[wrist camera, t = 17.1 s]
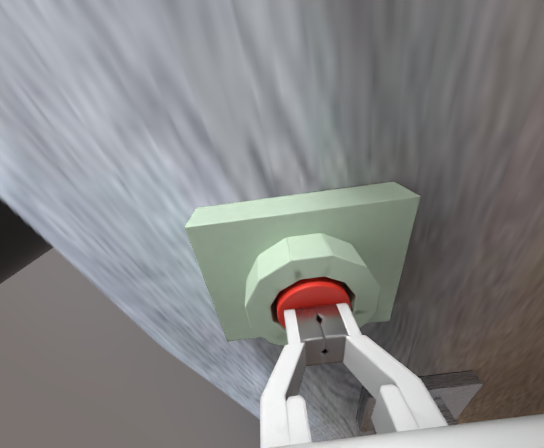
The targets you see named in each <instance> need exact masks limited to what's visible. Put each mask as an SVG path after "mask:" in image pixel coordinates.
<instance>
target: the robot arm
mask: <svg viewBox="0 0 544 448" xmlns="http://www.w3.org/2000/svg"><path fill="white" fill-rule="evenodd" d="M284 316H285V325H286V334H287V342H288V344H286V345H285V346H284V348H283V350H282V352H281V354H280V357H279V359H278V361H277V363H276V365H275V368H274V370H273V372H272V374H271V376H270V378H269V381H268V383H267V385H266V387H265V389H264V392H263V394H262V396H261V398H260V427H261V428H260V436H261V437H260V443H261V444H260V447H261V448H544V414H538V415H530V416H522V417H514V418H506V419H498V420H489V421H481V422H473V423H465V424H457V425H448V423H447V422H446V420H445V418H444V417H443V415H442V413H441V412H440V410H439V408H438V407H437V405H436V403H435V402H434V400H433V398H432V397H431V395H430V393H429V392H428V390H427V388H426V387H425V385H424V383H423V382H422V380H421V379H420V378H419V377H417V376H416V375H415V374H414V373H412V372H411V371H410V370H409V369H407V368H406V367H405V366H404V365H402V364H401V363H400V362H399V361H397V360H396V359H395V358H394V357H392V356H391V355H390V354H389V353H387V352H386V351H385V350H384V349H382V348H381V347H380V346H379V345H377V344H376V343H375V342H374V341H372V340H371V339H370V338H369V337H368V336H366V335H362V334H361V331H360V329H359V327H358V325H357V323H356V321H355V319H354V316H353V314H352V312H351V310H350V308H349V306H348V304H347V303H340V304H330V305H323V306H315V307H310V308H299V309H290V310H284ZM335 362H343V363H344V364H345V365H346V367H347V368H348V369H349V370H350V371H351V372H352V373H353V375H354V376H355V377H356V378H357V379H358V380H359V381H360V382H361V384H362V385H363V386H364V387H365V388H366V389H367V390H368V391H369V393H370V394H371V395H372V396H373V397H374V398H375V399H376V404H375V407H374V410H373V413H372V416H371V419H372V422H373V425H374V428H375V430H376V433H377V434H375V435H367V436H359V437H350V438H342V439H334V440H326V441H318V442H312V439H311V433H310V427H309V422H308V416H307V410H306V404H305V399H304V398H303V397H302V396H301V395H298V392H299V389H300V385H301V382H302V379H303V376H304V372H305V369H306V366H311V365H318V364H324V363H335Z"/></svg>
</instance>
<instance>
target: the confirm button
mask: <svg viewBox="0 0 544 448" xmlns="http://www.w3.org/2000/svg"><path fill="white" fill-rule="evenodd" d="M275 299H276V309H277V318H278V320H279V322H280V324H281V325H282V326H283V327H284V328H285V329H286V325H285V316H284V310H290V309H299V308H310V307H315V306H323V305H330V304H340V303H347V304H348V306H349V308H351V303H350V299H349V297H348V295H347V293H346V291H345V288H344V286H343V284H342V282H341V281H338V280H335V279H331V278H328V277H325V276H324V277H317V278H309V279H301V280H299V281H297V282H295V283H294V284H292V285H290V286H288V287H287V288H285V289H283V290H281V291H280V292H279V293H278V295H277V296H276V298H275Z"/></svg>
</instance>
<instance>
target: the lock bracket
mask: <svg viewBox="0 0 544 448" xmlns="http://www.w3.org/2000/svg"><path fill="white" fill-rule="evenodd" d="M419 378H420V379H421V380H422V382H423V383H424V385H425V387H426V388H427V390H428V392H429V393H430V395H431V397H432V398H433V400H434V402H435V403H436V405H437V407H438V408H439V410H440V412H441V413H442V415H443V417H444V418H445V420H446V422H447V423H448V425H457V424H458V423H457V422H456V420H455V419H456V418H457V417H458V416H459V415H460V413H461V412H462V411H463V409H464V408H465V407H466V406H467V404H468V403H469V402H470V400H471V399H472V398H473V397H474V395H475V394H476V393H477V391H478V390H479V389H480V387H481V386H482V385H483V383H482V382H481V380H480V379H479V378H478V377H477V376H476V374H475V373H474V372H473V371H464V372H456V373H448V374H440V375H432V376H425V377H419ZM375 404H376V399H375V398H374V397H373V396H372V395H371V394H370V393H369V391H368V390H367V389H366V388H365V387H364V386H362V392H361V397H360V402H359V407H358V412H357V417H356V419H357V422H358V425H359V429H360V431H367V430H375V428H374V425H373V422H372V419H371V416H372V413H373V410H374V407H375Z"/></svg>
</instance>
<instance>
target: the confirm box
mask: <svg viewBox="0 0 544 448" xmlns="http://www.w3.org/2000/svg"><path fill="white" fill-rule="evenodd" d="M419 200H420V196H419V195H417V194H415V193H414V192H412V191H410V190H408V189H406V188H404V187H403V186H401V185H399V184H397V183H395V182H388V183H380V184H373V185H365V186H358V187H350V188H343V189H335V190H327V191H320V192H312V193H305V194H297V195H290V196H282V197H275V198H267V199H260V200H252V201H244V202H237V203H229V204H222V205H214V206H207V207H199V208H196V210H195V211H194V213H193V215H192V216H191V218H190V220H189V221H188V223H187V224H186V226H185V230H186V232H187V235H188V238H189V240H190V243H191V246H192V248H193V251H194V254H195V256H196V259H197V262H198V264H199V267H200V270H201V272H202V275H203V278H204V280H205V283H206V286H207V288H208V291H209V294H210V296H211V299H212V302H213V304H214V307H215V310H216V312H217V315H218V318H219V320H220V323H221V326H222V328H223V331H224V334H225V336H226V339H227V341H236V340H243V339H251V338H259V337H263V338H264V339H266V340H267V341H268V342H270V343H272V344H276V345H281V346H285V345H286V344H288V342H287V334H286V329H285V328H284V327H283V326H282V325H281V324H280V322H279V320H278V318H277V309H276V299H275V298H276V296H277V295H278V293H279V292H280V291H281V290H283V289H285V288H287V287H288V286H290V285H292V284H294V283H295V282H297V281H299V280H301V279H309V278H317V277H324V276H325V277H328V278H331V279H335V280H338V281H341V282H342V284H343V286H344V288H345V291H346V293H347V295H348V297H349V299H350V303H351V308H350V310H351V312H352V314H353V316H354V319H355V321H356V323H357V325H358V327H359V329H360V328H361V327H362V326H363V325H364V324H367V323H375V322H383V321H389V320H390V317H391V313H392V309H393V305H394V301H395V297H396V293H397V289H398V285H399V281H400V277H401V273H402V269H403V265H404V261H405V257H406V253H407V248H408V244H409V240H410V236H411V232H412V228H413V224H414V220H415V216H416V212H417V208H418V204H419Z"/></svg>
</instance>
